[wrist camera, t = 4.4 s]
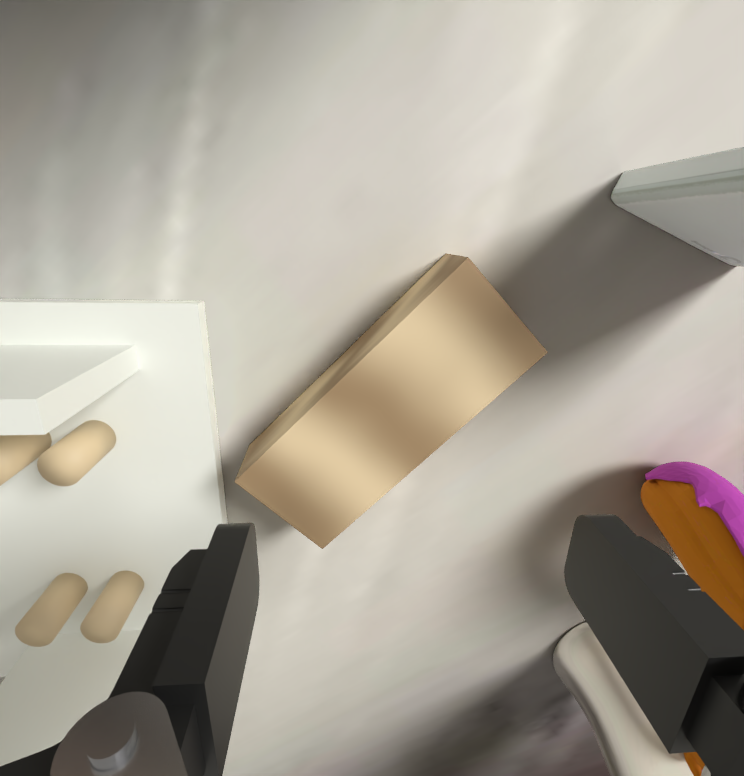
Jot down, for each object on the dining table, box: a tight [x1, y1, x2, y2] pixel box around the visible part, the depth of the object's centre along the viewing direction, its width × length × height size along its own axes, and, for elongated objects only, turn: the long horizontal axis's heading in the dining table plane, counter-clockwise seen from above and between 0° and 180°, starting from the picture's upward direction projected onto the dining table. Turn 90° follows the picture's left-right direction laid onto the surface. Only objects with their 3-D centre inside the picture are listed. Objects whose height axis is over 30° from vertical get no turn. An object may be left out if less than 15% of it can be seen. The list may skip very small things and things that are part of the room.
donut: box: [641, 462, 744, 630], centre depth 22 cm, size 8×9×10 cm
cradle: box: [0, 299, 228, 766], centre depth 20 cm, size 22×14×8 cm, turn 179°
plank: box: [235, 254, 548, 549], centre depth 21 cm, size 14×6×4 cm, turn 134°
